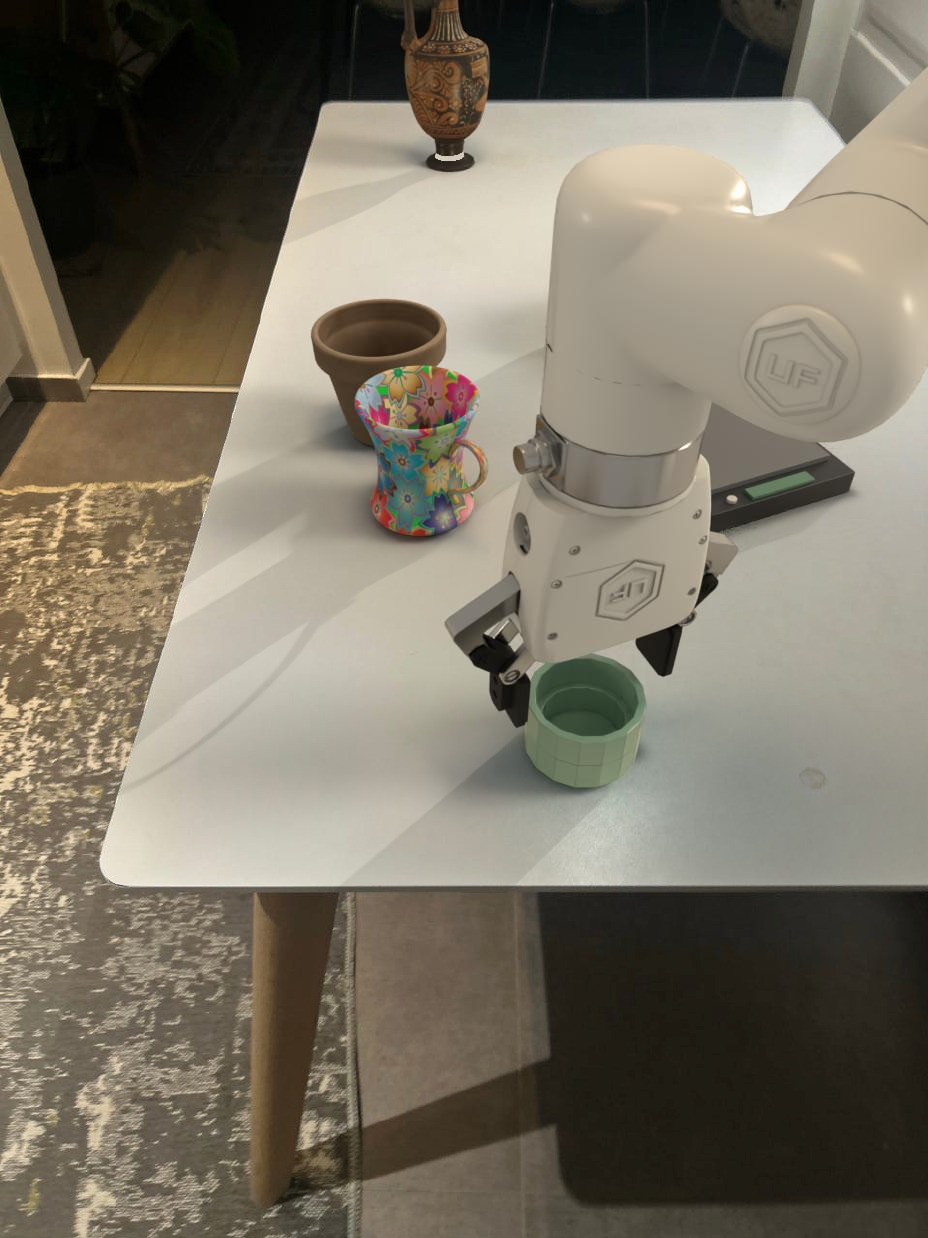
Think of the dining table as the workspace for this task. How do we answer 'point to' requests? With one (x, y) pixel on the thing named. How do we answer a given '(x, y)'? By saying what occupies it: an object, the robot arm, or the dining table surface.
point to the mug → (421, 447)
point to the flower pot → (374, 346)
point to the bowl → (584, 720)
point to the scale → (764, 471)
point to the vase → (445, 81)
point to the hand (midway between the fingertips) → (583, 684)
